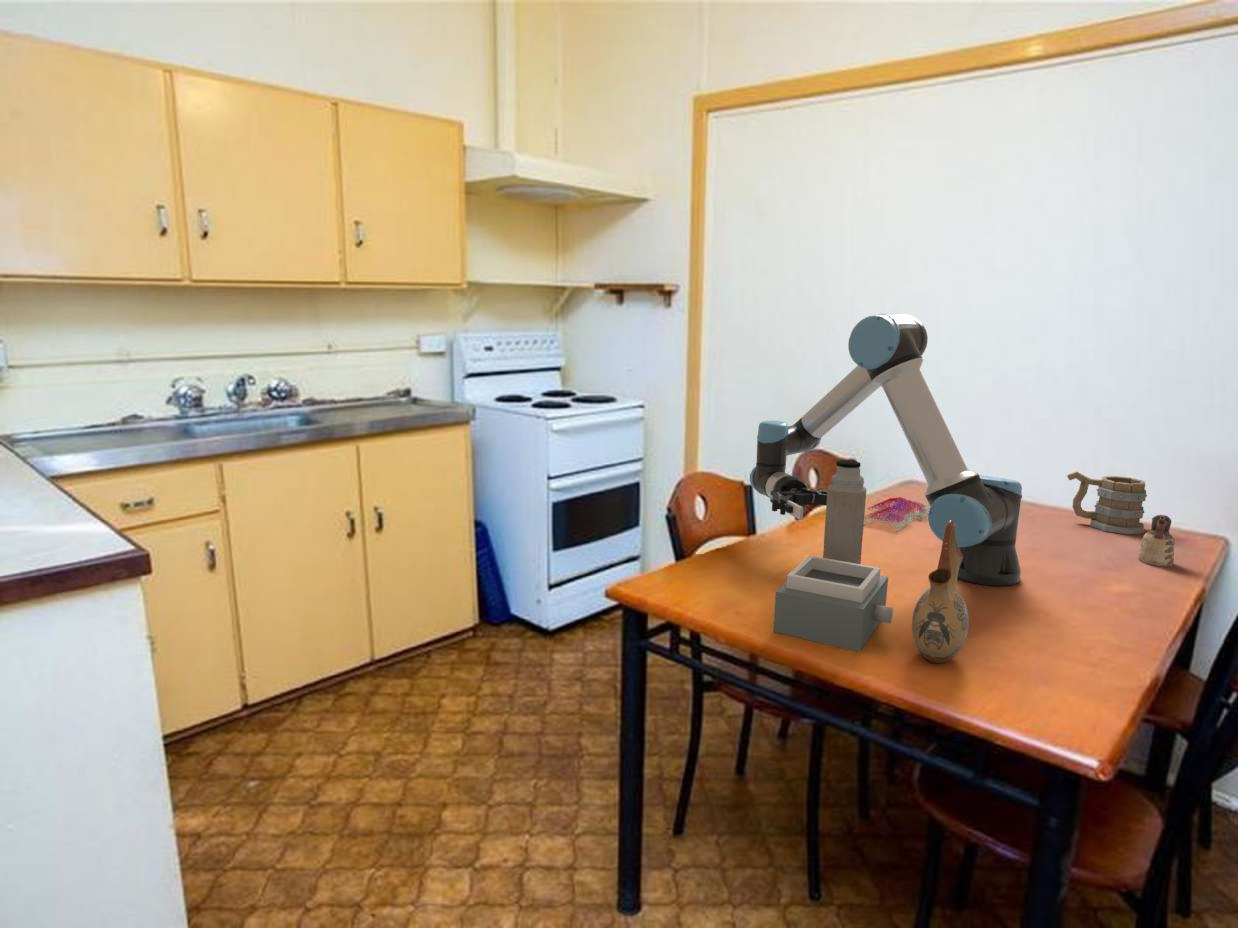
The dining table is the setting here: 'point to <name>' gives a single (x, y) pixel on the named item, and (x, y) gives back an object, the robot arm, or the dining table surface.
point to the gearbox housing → (832, 603)
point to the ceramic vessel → (942, 606)
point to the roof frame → (905, 510)
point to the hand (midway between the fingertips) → (829, 512)
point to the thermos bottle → (845, 514)
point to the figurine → (1158, 543)
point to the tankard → (1113, 503)
